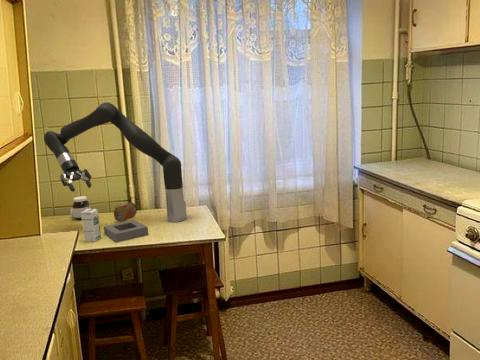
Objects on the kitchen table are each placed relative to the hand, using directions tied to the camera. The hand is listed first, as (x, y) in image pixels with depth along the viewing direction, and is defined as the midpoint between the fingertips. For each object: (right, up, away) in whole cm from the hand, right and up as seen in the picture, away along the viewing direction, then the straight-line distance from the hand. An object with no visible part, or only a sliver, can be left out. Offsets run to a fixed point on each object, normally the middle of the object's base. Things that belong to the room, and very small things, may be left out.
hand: (82, 188), depth 245 cm
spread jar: (-11, -17, +32) cm, 37 cm away
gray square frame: (+22, -22, -1) cm, 31 cm away
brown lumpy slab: (+16, -17, +25) cm, 34 cm away
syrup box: (+7, -24, -6) cm, 26 cm away
